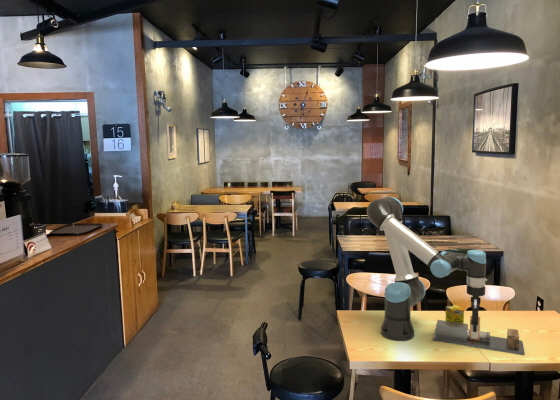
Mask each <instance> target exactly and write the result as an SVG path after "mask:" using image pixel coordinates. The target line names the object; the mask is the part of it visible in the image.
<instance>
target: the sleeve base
mask: <svg viewBox="0 0 560 400" xmlns="http://www.w3.org/2000/svg"><path fill="white" fill-rule="evenodd" d="M468 324H469V323H465V322H464V323H458V322H450V321H446V320H442V319H437V321H436V324H435V329H434V334H433V338H432V341H433V342H439V343H446V344H452V345H457V346H458V345H459V346H465V347H470V348H471V347H472V348H477V349H484V350H489V351H495V352H496V351H497V352H502V353H508V354H514V355H521V356H525V347H524V343H523V340H520V339H519V349H512V348H508V342H507V337H499V336H493V335H492V336H491V335H490V341H487V340H480V341H476V340H470V338H467V329H469V327H468V326H469V325H468Z"/></svg>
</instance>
